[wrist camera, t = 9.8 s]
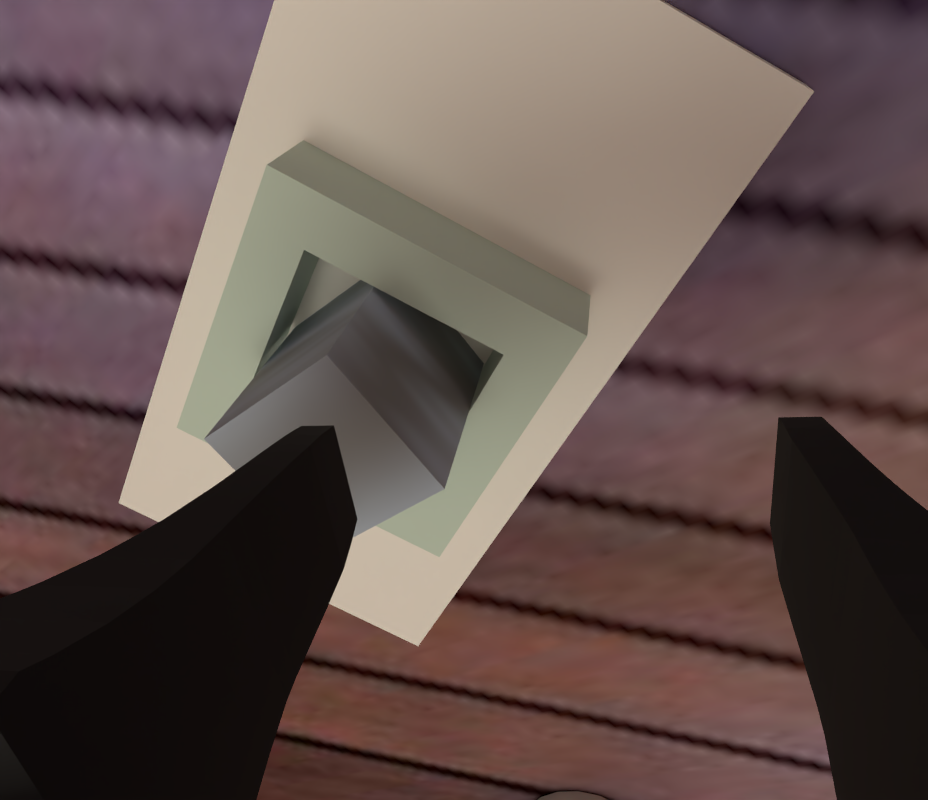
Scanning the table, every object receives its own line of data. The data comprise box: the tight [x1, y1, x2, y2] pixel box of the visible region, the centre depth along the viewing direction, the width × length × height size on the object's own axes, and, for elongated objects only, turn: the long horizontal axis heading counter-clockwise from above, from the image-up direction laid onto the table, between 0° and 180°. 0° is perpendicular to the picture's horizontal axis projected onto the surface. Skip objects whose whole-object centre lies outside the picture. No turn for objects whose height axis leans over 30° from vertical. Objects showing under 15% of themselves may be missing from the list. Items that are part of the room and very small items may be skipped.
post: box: [204, 280, 484, 537], centre depth 20 cm, size 4×4×6 cm
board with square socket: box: [119, 0, 814, 646], centre depth 22 cm, size 12×22×4 cm, turn 154°
